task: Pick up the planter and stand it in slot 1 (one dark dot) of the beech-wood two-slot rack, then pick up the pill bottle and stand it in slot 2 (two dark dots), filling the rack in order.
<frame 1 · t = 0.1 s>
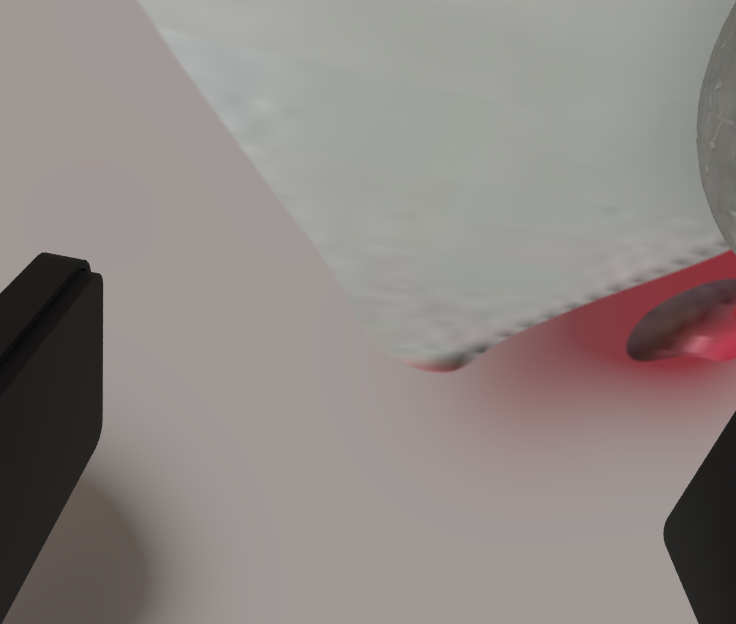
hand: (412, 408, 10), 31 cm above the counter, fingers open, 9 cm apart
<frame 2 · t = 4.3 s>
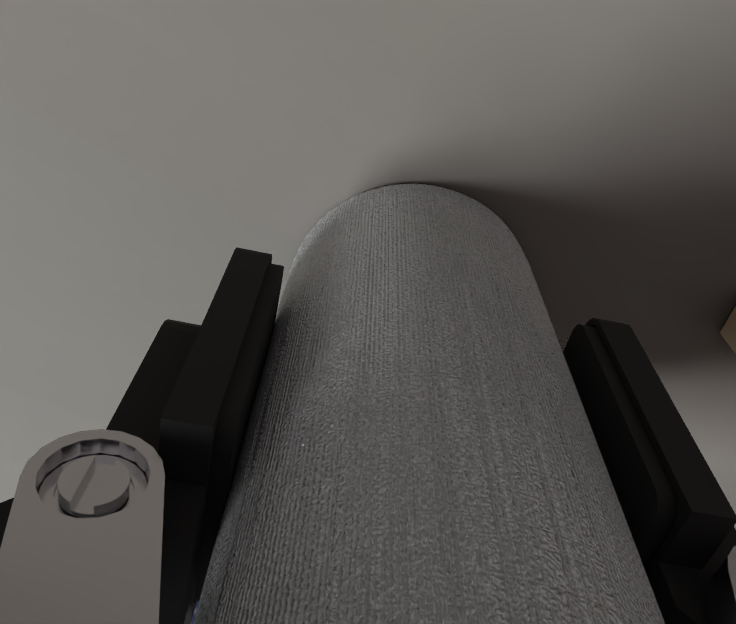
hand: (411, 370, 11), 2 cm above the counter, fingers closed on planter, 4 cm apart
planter: (408, 289, 13), on the counter, touching gripper
when the fingers open (5 cm above the counter, at t = 8.6 s): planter drops 2 cm, on the counter.
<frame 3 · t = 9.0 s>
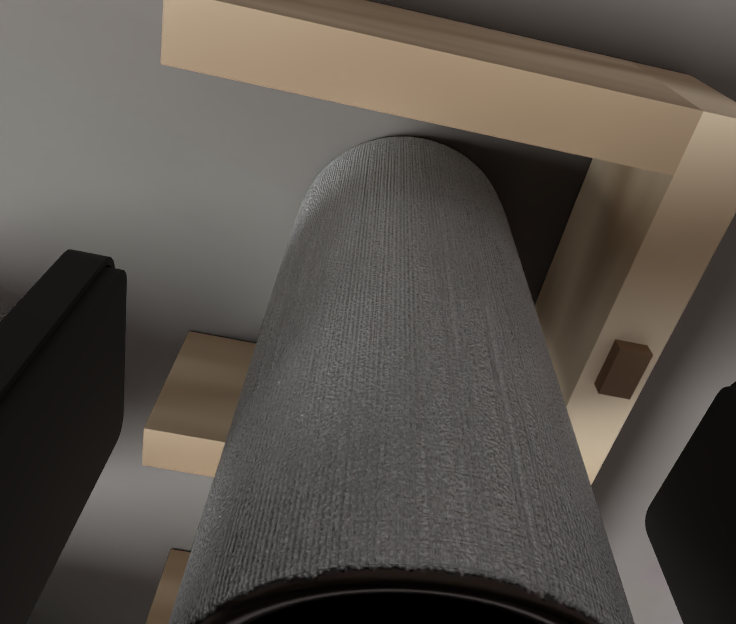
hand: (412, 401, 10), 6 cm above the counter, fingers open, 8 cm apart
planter: (400, 231, 15), on the counter
slot rack: (368, 381, 17), on the counter
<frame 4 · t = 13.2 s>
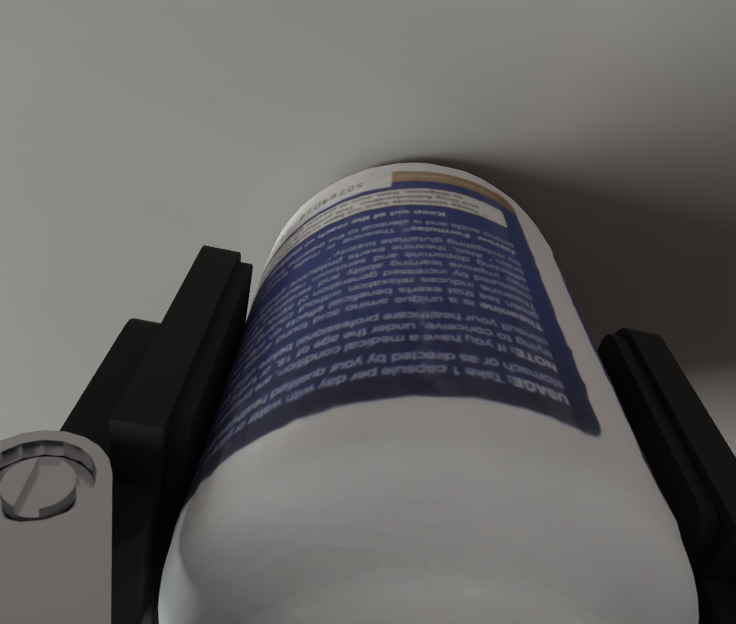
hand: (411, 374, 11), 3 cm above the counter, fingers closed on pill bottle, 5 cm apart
pill bottle: (407, 288, 13), on the counter, touching gripper
when the fingers open (5 cm above the counter, at t = 17.6 s): pill bottle drops 2 cm, on the counter.
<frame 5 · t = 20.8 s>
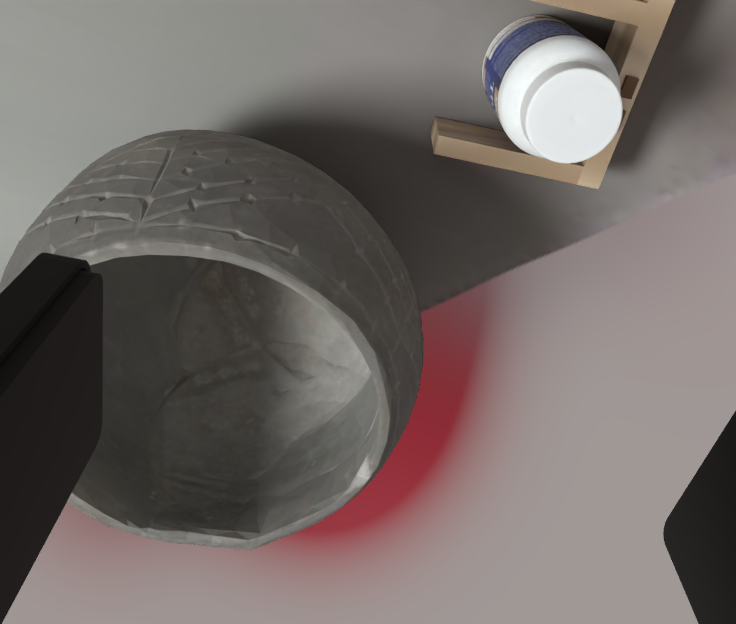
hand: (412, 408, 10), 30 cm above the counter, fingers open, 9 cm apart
pill bottle: (530, 67, 37), on the counter
bowl: (251, 262, 43), on the counter
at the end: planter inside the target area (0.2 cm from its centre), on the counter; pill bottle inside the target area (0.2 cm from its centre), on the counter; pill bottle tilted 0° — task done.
